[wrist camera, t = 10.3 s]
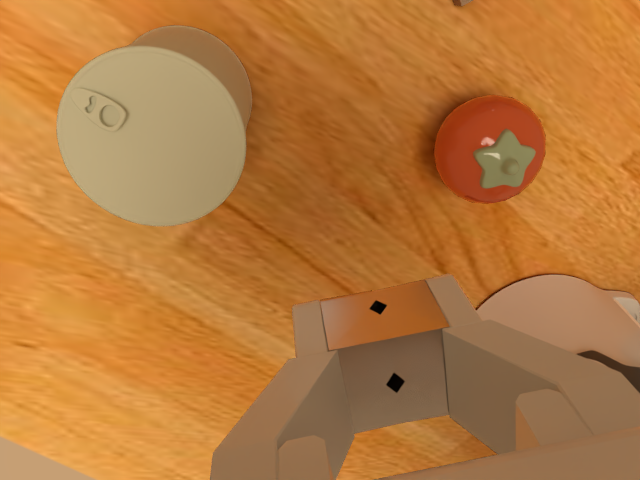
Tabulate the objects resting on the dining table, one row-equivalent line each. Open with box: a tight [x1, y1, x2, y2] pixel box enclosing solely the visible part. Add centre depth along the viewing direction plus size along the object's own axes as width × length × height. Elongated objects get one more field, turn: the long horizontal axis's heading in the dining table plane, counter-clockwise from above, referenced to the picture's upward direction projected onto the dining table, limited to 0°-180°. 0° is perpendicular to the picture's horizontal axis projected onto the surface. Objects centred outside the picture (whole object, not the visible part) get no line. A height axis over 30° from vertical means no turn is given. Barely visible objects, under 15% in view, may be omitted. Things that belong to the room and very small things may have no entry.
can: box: [57, 25, 252, 226], centre depth 31 cm, size 9×9×12 cm
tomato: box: [434, 95, 546, 204], centre depth 36 cm, size 7×7×8 cm
